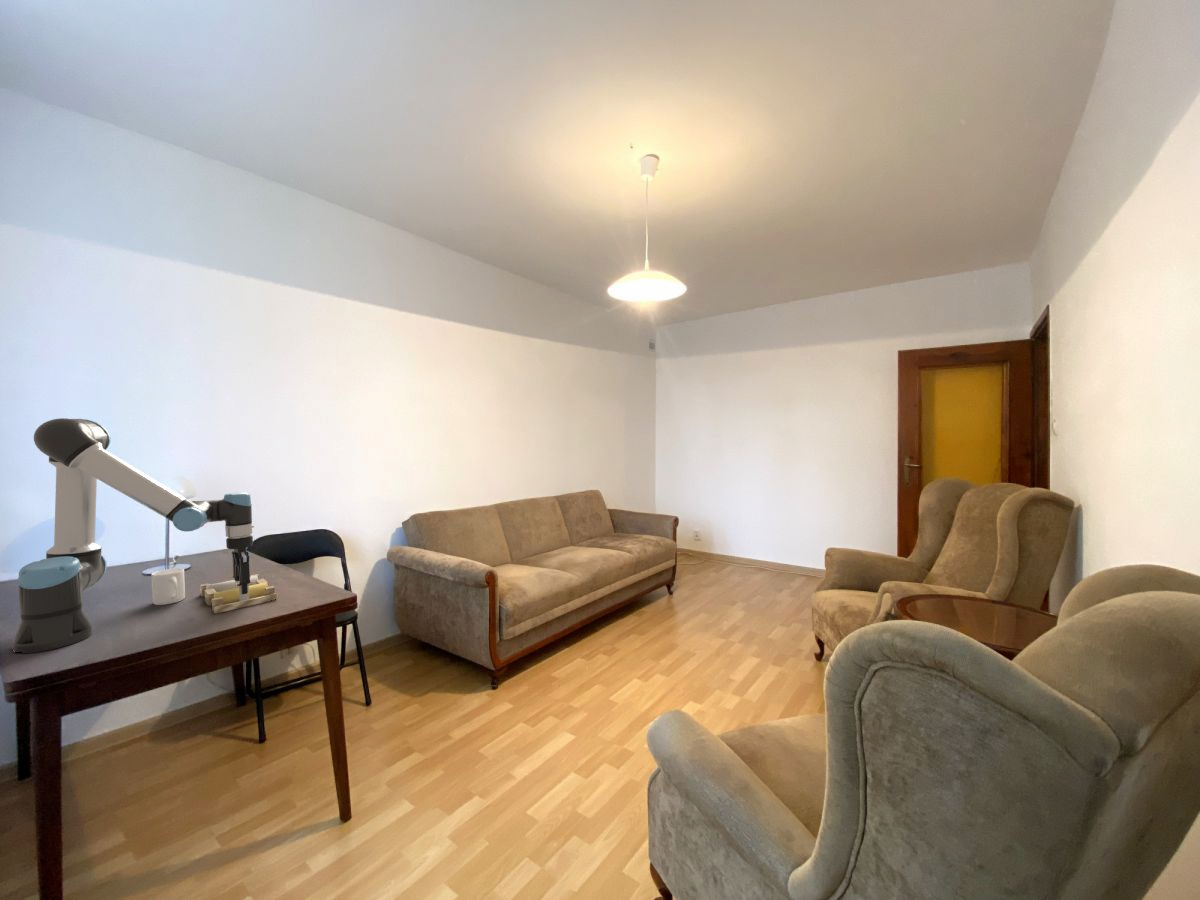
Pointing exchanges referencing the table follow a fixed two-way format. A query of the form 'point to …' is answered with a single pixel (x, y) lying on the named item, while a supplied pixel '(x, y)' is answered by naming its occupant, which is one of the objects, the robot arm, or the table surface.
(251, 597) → the yellow cylinder
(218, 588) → the white cylinder
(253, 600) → the wooden rack
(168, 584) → the mug
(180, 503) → the robot arm
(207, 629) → the table surface
